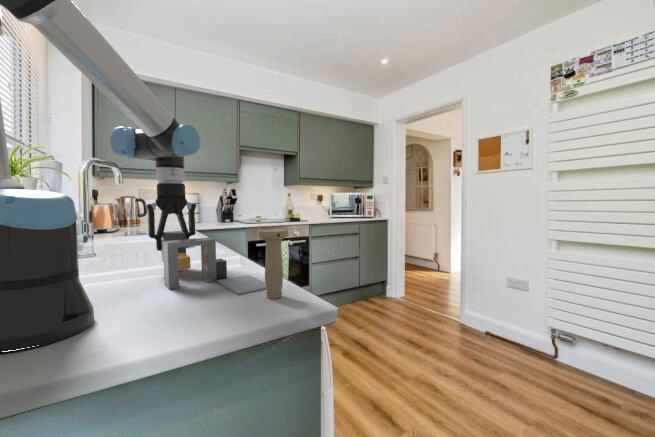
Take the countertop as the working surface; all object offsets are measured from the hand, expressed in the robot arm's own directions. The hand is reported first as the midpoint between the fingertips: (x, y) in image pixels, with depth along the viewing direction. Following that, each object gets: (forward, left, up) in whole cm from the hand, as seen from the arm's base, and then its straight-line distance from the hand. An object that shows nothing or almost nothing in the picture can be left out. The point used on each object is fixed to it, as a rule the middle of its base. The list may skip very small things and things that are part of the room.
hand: (173, 259), depth 91 cm
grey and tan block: (0, -4, -1) cm, 4 cm away
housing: (+1, -18, -3) cm, 18 cm away
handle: (+11, -41, -3) cm, 43 cm away
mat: (+10, -28, -3) cm, 30 cm away
